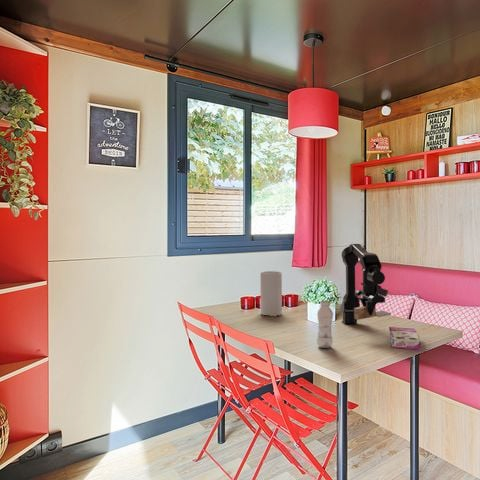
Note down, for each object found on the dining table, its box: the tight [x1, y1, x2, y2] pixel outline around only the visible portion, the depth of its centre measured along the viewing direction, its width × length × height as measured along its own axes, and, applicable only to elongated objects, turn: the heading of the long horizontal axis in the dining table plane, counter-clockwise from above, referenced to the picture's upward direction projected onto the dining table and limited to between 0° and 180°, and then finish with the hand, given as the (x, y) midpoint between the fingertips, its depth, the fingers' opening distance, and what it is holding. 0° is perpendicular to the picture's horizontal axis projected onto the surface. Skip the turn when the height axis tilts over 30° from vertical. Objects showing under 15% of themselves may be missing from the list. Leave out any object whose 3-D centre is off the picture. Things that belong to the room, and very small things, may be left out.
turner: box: [354, 305, 392, 321], centre depth 175 cm, size 17×6×5 cm, turn 108°
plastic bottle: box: [316, 300, 334, 349], centre depth 161 cm, size 6×7×20 cm
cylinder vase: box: [260, 270, 283, 317], centre depth 222 cm, size 12×12×25 cm
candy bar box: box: [388, 326, 422, 351], centre depth 166 cm, size 11×5×16 cm
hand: (369, 314), depth 174 cm, fingers closed on turner, 3 cm apart
